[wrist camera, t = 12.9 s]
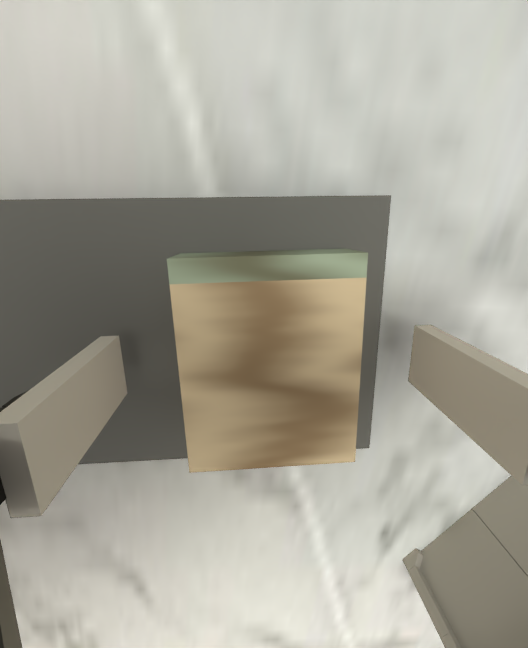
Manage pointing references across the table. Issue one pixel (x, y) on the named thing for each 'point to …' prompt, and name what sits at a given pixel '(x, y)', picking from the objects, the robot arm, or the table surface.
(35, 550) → the table surface
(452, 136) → the table surface
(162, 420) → the mat
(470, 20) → the table surface
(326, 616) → the table surface
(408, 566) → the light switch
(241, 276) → the tan and green block
